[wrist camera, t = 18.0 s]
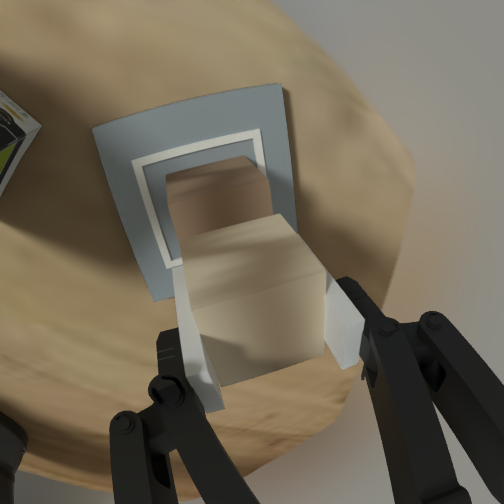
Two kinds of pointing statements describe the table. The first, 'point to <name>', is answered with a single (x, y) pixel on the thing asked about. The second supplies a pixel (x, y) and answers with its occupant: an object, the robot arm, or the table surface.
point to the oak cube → (255, 297)
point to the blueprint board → (190, 164)
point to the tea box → (13, 137)
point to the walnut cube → (217, 196)
